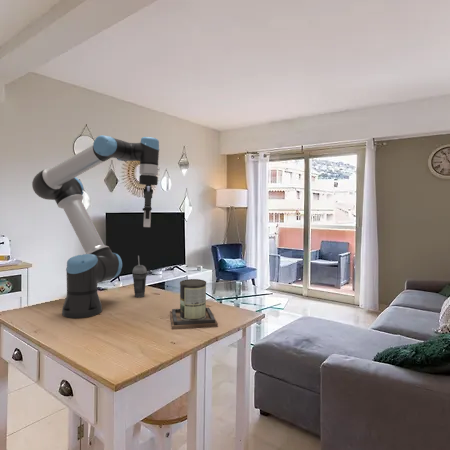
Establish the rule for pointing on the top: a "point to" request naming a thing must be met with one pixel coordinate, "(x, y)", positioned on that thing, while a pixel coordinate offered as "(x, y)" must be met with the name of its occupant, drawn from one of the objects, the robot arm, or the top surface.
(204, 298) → the coffee can
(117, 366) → the top surface
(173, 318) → the walnut board
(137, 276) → the beverage cup
